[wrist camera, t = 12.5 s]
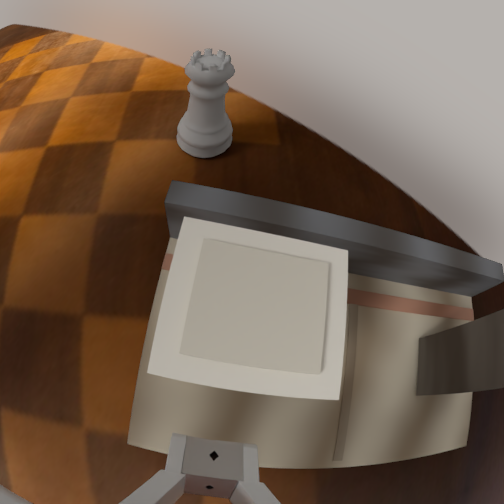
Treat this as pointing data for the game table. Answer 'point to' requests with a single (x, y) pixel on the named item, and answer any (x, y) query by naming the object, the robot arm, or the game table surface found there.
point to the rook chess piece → (206, 106)
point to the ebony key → (463, 358)
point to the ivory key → (253, 313)
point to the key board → (355, 347)
